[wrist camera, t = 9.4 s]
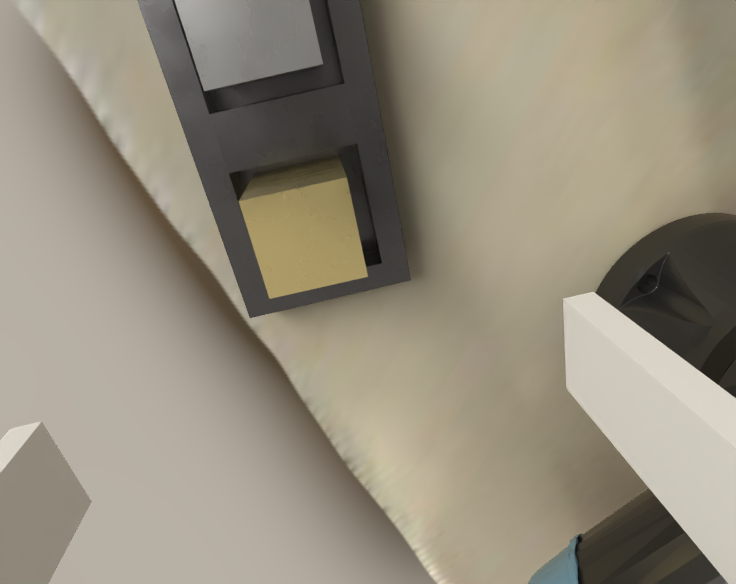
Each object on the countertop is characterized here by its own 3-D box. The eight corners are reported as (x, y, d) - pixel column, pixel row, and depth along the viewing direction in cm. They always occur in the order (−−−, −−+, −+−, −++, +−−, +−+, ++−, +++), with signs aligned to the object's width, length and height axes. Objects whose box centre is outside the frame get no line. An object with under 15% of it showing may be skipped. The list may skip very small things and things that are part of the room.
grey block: (319, 67, 26) (323, 64, 20) (229, 87, 26) (204, 91, 20) (295, -41, 24) (290, -84, 18) (197, -19, 24) (156, -55, 17)
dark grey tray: (401, 262, 32) (410, 280, 29) (255, 297, 32) (250, 317, 29) (331, -110, 23) (334, -135, 21) (130, -66, 23) (107, -85, 20)
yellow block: (355, 234, 30) (368, 276, 24) (277, 252, 30) (269, 299, 24) (338, 154, 28) (346, 177, 22) (254, 173, 28) (238, 201, 22)
